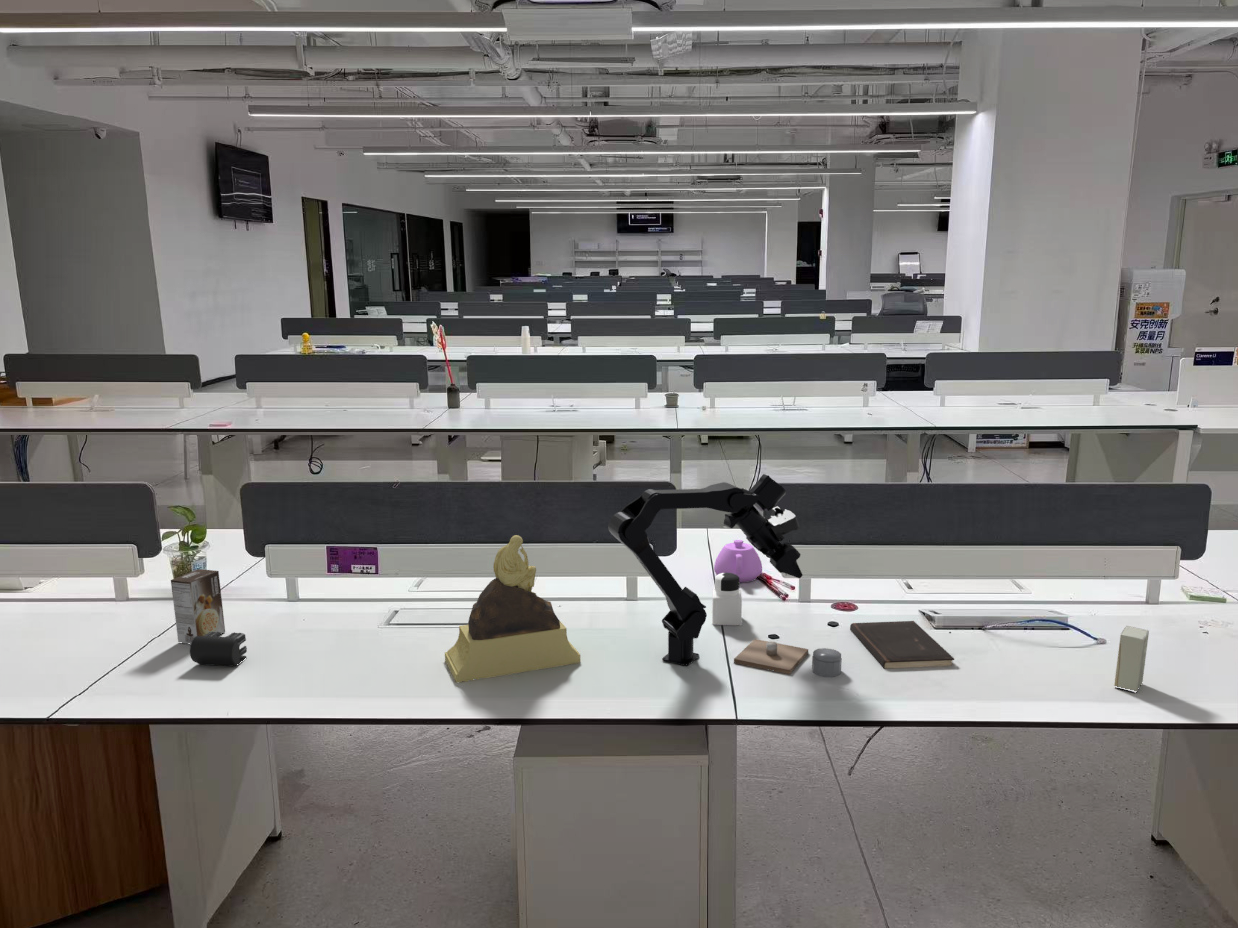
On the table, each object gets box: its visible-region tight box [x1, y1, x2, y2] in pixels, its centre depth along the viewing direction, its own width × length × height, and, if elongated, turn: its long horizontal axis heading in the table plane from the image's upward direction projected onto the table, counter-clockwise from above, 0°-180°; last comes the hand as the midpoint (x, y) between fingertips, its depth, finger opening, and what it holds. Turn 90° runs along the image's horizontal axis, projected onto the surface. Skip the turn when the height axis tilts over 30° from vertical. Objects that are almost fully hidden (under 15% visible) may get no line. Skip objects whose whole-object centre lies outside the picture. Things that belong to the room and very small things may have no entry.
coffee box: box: [170, 568, 226, 644], centre depth 223 cm, size 9×6×16 cm
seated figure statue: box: [444, 534, 581, 684], centre depth 206 cm, size 28×13×30 cm, turn 111°
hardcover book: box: [849, 620, 955, 670], centre depth 215 cm, size 16×23×2 cm
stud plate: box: [733, 638, 809, 675], centre depth 209 cm, size 13×13×4 cm
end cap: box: [189, 632, 248, 667], centre depth 209 cm, size 10×7×7 cm
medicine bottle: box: [711, 573, 743, 627], centre depth 232 cm, size 7×7×12 cm
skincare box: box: [1113, 625, 1150, 691], centre depth 193 cm, size 6×4×12 cm
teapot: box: [713, 539, 763, 583], centre depth 267 cm, size 14×20×11 cm
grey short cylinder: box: [811, 647, 842, 678], centre depth 202 cm, size 6×6×4 cm
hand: (792, 568), depth 216 cm, fingers open, 9 cm apart
